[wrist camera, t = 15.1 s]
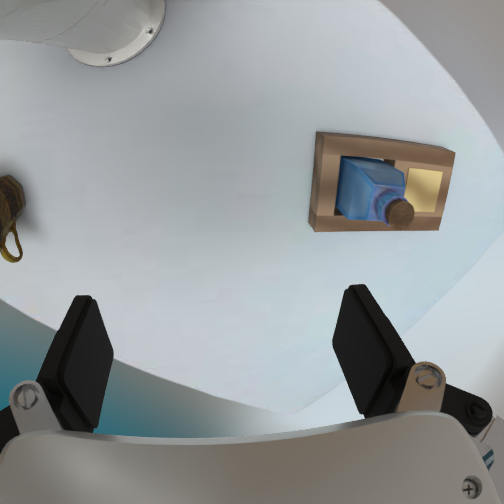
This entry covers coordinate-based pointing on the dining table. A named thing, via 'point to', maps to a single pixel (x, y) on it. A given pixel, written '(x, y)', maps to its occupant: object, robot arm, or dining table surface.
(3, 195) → the ceramic cup
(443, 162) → the frame
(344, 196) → the perfume bottle
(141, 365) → the dining table surface
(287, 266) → the dining table surface
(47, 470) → the robot arm
